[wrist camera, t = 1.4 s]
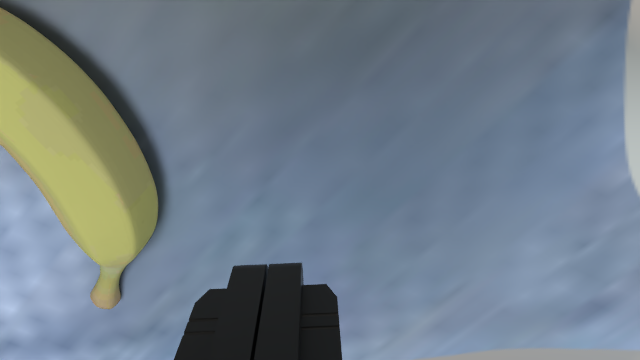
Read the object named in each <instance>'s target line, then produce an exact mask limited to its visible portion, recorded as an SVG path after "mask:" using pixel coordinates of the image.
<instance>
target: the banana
mask: <svg viewBox="0 0 640 360" xmlns="http://www.w3.org/2000/svg"><path fill="white" fill-rule="evenodd" d="M0 145H2V146H3V147H4V148H5V149H6V150H7V151H8V153H9V154H10V155H11V156H12V157H13V158H14V159H15V160H16V161H17V162H18V164H19V165H20V166H21V167H22V168H23V169H24V171H25V172H26V173H27V174H28V175H29V176H30V178H31V179H32V180H33V181H34V183H35V184H36V185H37V187H38V188H39V189H40V191H41V192H42V194H43V195H44V197H45V198H46V200H47V201H48V203H49V205H50V206H51V208H52V209H53V211H54V213H55V214H56V216H57V217H58V219H59V220H60V222H61V224H62V225H63V227H64V228H65V230H66V231H67V232H68V234H69V235H70V236H71V237H72V239H73V240H74V241H75V242H76V243H77V244H78V246H79V247H80V248H81V249H82V250H83V251H84V252H85V253H86V254H87V255H88V256H89V257H90V258H91V259H92V260H94V261H95V262H96V263H97V264H99V265H100V276H99V279H98V281H97V283H96V285H95V286H94V288H93V290H92V291H91V295H90V297H91V300H92V301H93V303H94V304H95V305H96V306H97V307H99V308H102V309H111V308H113V307H114V306H116V304H117V303H118V302H119V301H120V298H121V294H120V290H119V279H120V275H121V273H122V272H123V270H124V268H125V267H126V266H127V264H129V263H130V262H131V261H132V260H133V259H134V258H135V257H136V256H137V255H138V254H139V253H140V251H141V250H142V249H143V248H144V246H145V245H146V244H147V242H148V241H149V239H150V237H151V236H152V234H153V232H154V230H155V227H156V223H157V218H158V196H157V190H156V186H155V183H154V180H153V177H152V174H151V172H150V169H149V167H148V164H147V162H146V160H145V158H144V155H143V153H142V151H141V149H140V147H139V146H138V144H137V142H136V140H135V138H134V137H133V135H132V133H131V132H130V130H129V129H128V127H127V126H126V124H125V123H124V121H123V120H122V118H121V117H120V115H119V114H118V112H117V111H116V110H115V108H114V107H113V105H112V104H111V103H110V101H109V100H108V99H107V97H106V96H105V95H104V94H103V92H102V91H101V90H100V89H99V88H98V86H97V85H96V84H95V83H94V82H93V81H92V80H91V79H90V78H89V76H88V75H87V74H86V73H85V72H84V71H83V70H82V69H81V68H80V67H79V66H78V65H77V64H76V63H75V62H74V61H73V60H72V59H71V58H69V57H68V56H67V55H66V54H65V53H64V52H63V51H62V50H60V49H59V48H58V47H57V46H56V45H54V44H53V43H52V42H51V41H49V40H48V39H47V38H46V37H44V36H43V35H42V34H40V33H39V32H38V31H36V30H35V29H34V28H32V27H31V26H29V25H28V24H27V23H25V22H24V21H22V20H21V19H19V18H17V17H16V16H14V15H13V14H11V13H9V12H7V11H6V10H4V9H2V8H0Z"/></svg>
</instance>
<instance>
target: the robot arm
mask: <svg viewBox="0 0 640 360" xmlns="http://www.w3.org/2000/svg"><path fill="white" fill-rule="evenodd" d="M174 360H342V352H341V340H340V329H339V315H338V303H337V296H336V295H335V294H334V293H333V292H332V290H331V289H330V288H329V287H328V286H327V284H319V285H304V284H303V268H302V263H285V264H269V267H268V266H267V264H264V265H241V266H234V267H233V269H232V273H231V276H230V280H229V283H228V287H227V289H209V290H208V291H207V292H206V293H205V294H204V295H203V296H202V297H201V298H200V299H199V300H198V301H197V302H196V303H195V305H194V307H193V310H192V313H191V315H190V318H189V322H188V323H187V326H186V329H185V331H184V335H183V337H182V339H181V342H180V345H179V347H178V350H177V353H176V355H175V358H174Z"/></svg>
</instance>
